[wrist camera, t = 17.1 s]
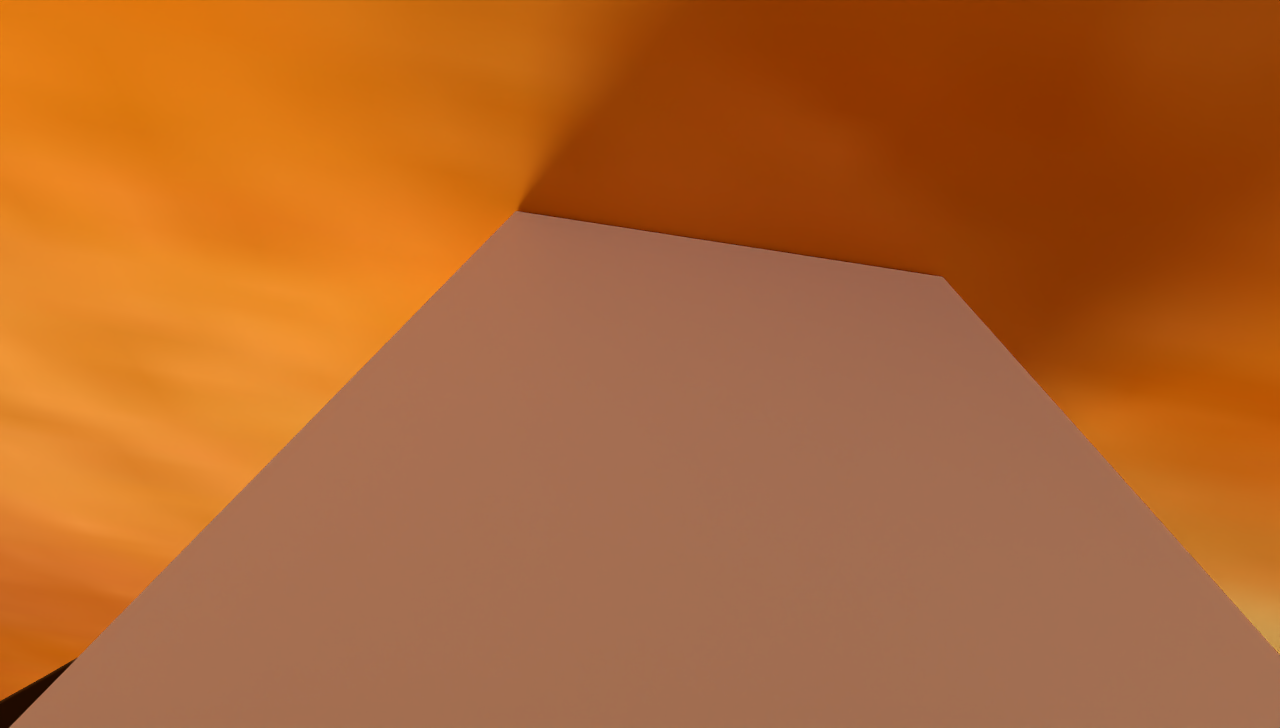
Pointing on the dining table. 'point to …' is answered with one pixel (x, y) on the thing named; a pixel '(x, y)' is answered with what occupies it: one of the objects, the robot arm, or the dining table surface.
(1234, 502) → the dining table surface
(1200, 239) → the dining table surface
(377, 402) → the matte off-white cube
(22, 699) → the robot arm
